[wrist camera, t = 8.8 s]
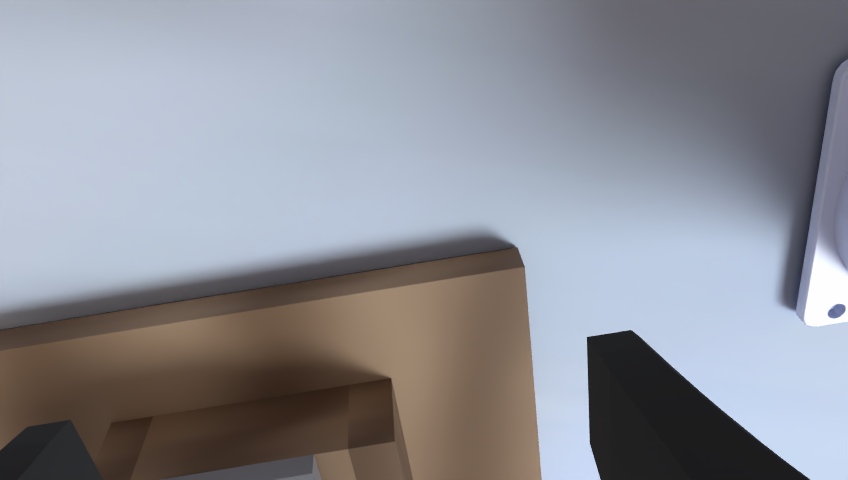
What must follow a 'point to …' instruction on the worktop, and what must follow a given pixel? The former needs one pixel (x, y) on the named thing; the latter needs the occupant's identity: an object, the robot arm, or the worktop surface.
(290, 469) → the servo block
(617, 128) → the worktop surface
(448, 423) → the dock
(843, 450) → the worktop surface
